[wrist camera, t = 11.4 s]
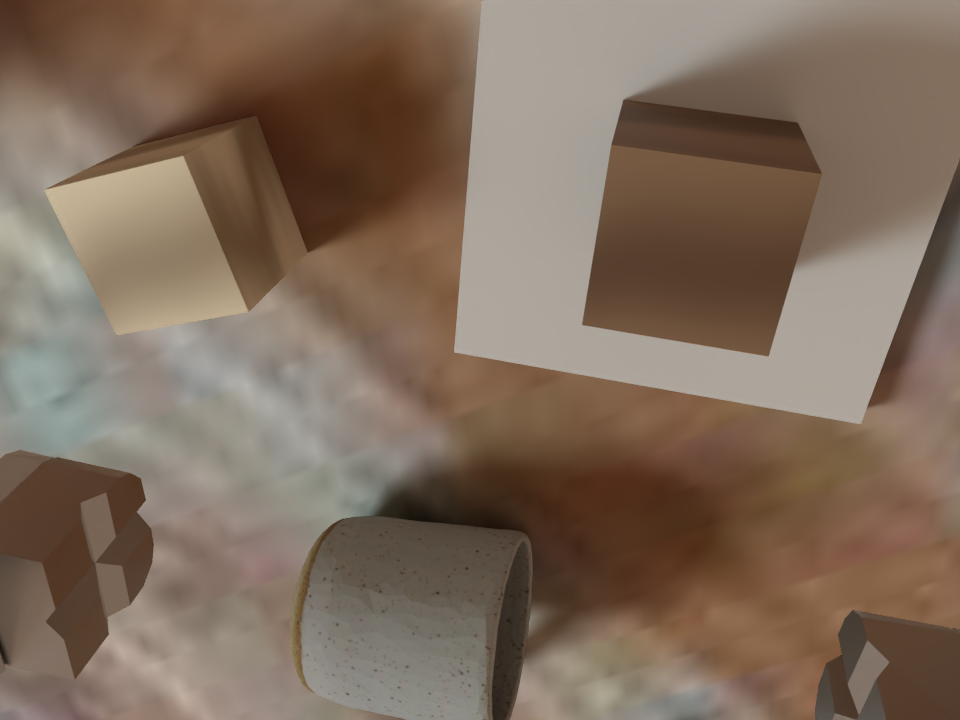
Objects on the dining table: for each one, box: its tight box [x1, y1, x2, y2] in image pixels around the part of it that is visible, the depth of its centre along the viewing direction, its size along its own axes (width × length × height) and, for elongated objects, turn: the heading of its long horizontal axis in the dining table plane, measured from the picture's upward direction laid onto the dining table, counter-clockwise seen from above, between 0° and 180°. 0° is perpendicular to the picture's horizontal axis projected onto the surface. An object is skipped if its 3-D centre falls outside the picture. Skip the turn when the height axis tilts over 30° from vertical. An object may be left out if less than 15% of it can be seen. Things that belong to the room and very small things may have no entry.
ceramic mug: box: [290, 516, 533, 720], centre depth 34 cm, size 11×8×8 cm
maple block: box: [44, 115, 308, 335], centre depth 28 cm, size 5×5×5 cm
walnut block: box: [582, 99, 822, 357], centre depth 24 cm, size 5×5×5 cm
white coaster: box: [454, 0, 960, 424], centre depth 26 cm, size 14×14×1 cm
